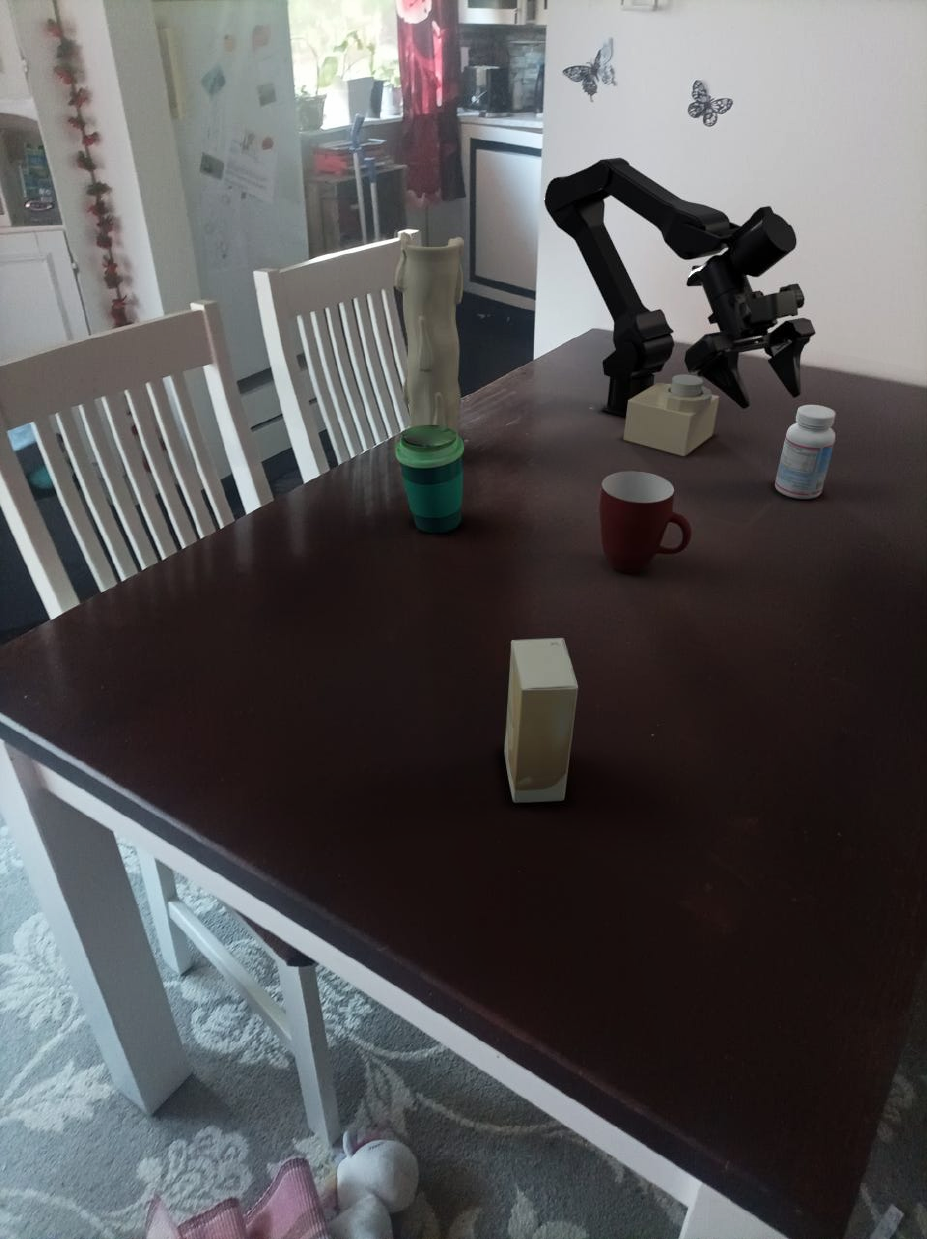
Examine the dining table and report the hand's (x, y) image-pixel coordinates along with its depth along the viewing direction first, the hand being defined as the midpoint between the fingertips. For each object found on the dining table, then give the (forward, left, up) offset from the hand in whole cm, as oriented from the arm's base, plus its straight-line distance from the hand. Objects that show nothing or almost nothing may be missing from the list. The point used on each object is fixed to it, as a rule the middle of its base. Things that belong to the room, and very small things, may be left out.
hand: (772, 401), depth 117 cm
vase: (-39, -24, -10) cm, 47 cm away
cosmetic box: (+8, -70, -10) cm, 71 cm away
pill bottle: (+7, -3, -10) cm, 13 cm away
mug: (-1, -34, -10) cm, 36 cm away
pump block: (-15, +3, -10) cm, 18 cm away
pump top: (-13, +2, -2) cm, 14 cm away
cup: (-26, -41, -10) cm, 50 cm away
